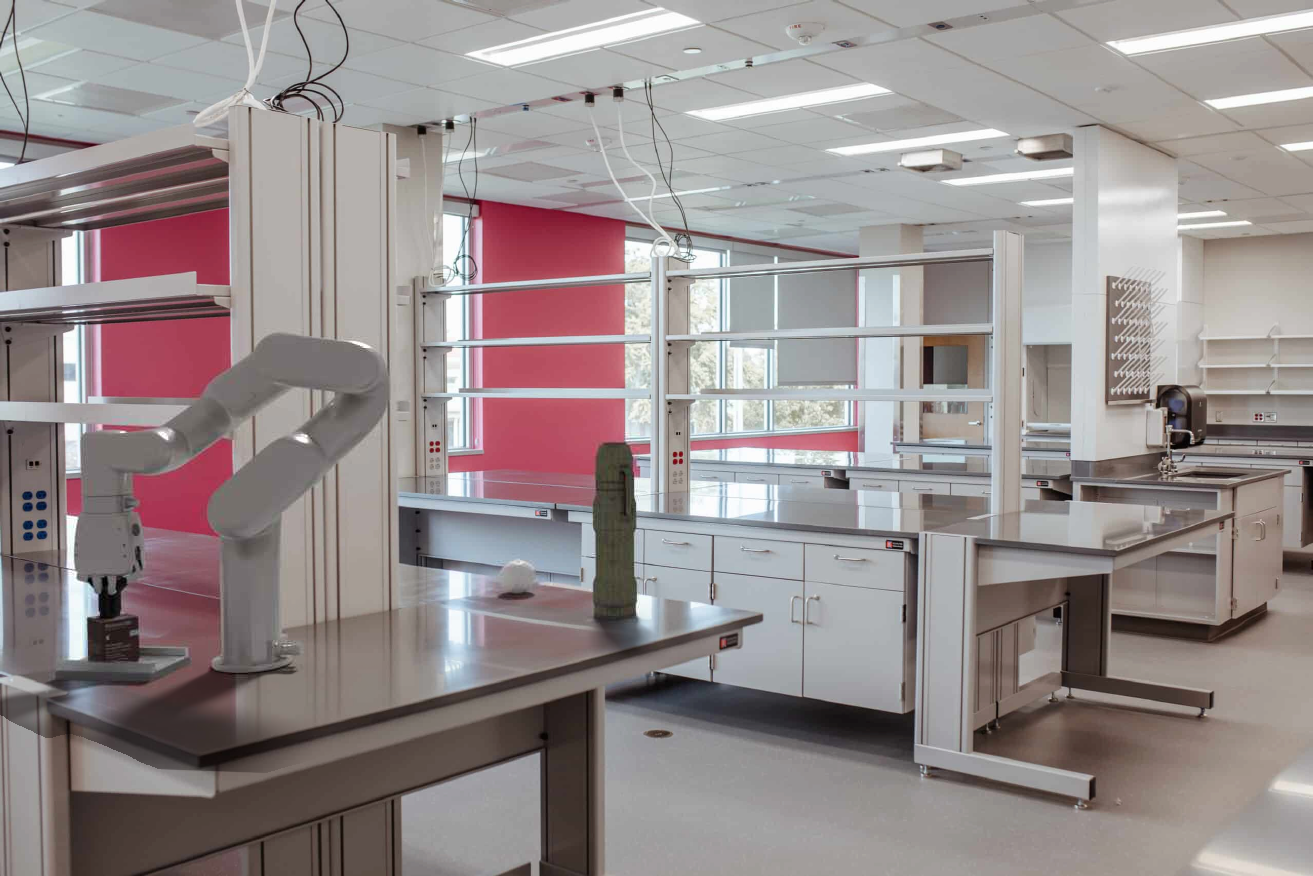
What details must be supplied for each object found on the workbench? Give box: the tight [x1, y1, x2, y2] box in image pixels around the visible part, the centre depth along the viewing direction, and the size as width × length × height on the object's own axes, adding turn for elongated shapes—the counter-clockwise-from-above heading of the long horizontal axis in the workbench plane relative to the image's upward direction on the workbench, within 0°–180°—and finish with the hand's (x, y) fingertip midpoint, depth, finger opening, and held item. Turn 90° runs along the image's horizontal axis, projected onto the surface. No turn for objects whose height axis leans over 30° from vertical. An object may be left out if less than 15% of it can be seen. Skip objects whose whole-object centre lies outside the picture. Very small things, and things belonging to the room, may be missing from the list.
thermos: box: [592, 441, 638, 620], centre depth 223 cm, size 9×12×35 cm
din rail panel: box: [54, 645, 191, 683], centre depth 181 cm, size 16×12×3 cm
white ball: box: [499, 559, 536, 595], centre depth 247 cm, size 8×8×8 cm
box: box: [86, 612, 140, 661], centre depth 181 cm, size 6×6×7 cm
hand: (110, 616), depth 180 cm, fingers closed
